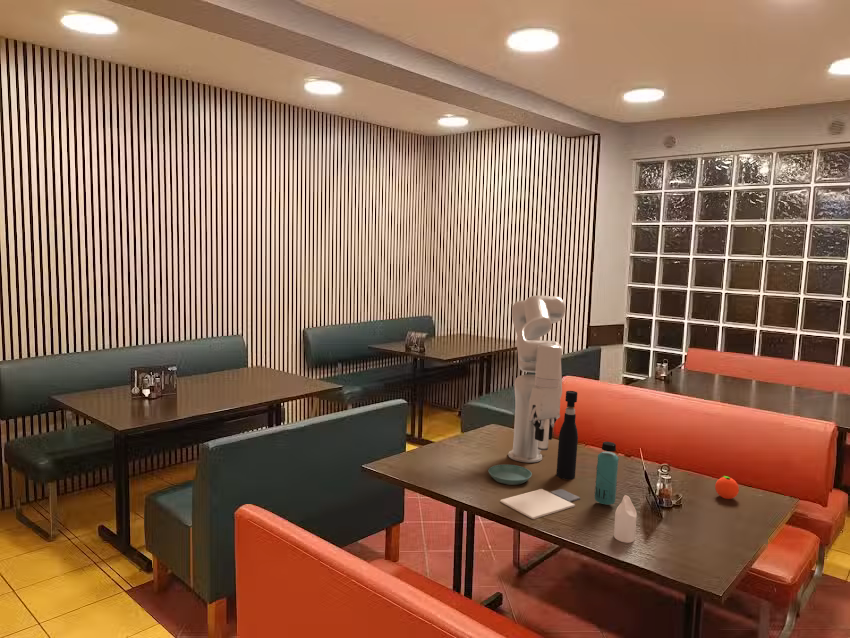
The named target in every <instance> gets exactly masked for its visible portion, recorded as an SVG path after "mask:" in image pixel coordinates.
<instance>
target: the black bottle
mask: <svg viewBox="0 0 850 638" xmlns="http://www.w3.org/2000/svg"><path fill="white" fill-rule="evenodd" d="M565 402H566V408H565V412H564V417H563V423H562V425H561V428H560V431H559V433H558V448H557V460H556V477H558V478H559V479H561V480H562V479H563V480H568V481H569V480H574V479H575V478H576V468H577V454H578V444H579V442H578V441H579V440H578V439H579V434H578V428H577V424H576V416H577V415H576V409H575V404H576V403H577V402H578V391H575V390H566V391H565Z"/></svg>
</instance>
